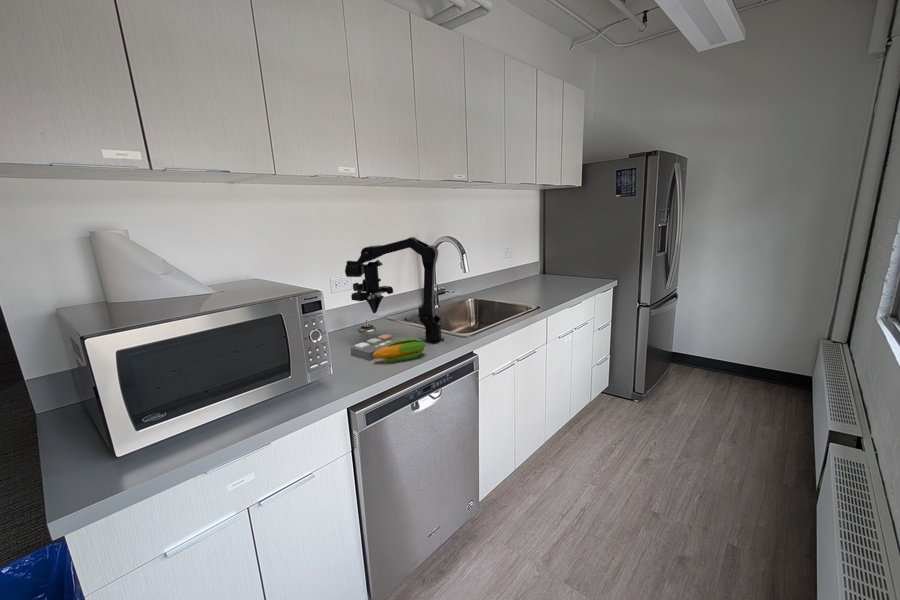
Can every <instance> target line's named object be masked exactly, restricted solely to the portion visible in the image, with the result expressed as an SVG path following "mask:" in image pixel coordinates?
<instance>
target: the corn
mask: <svg viewBox="0 0 900 600" xmlns="http://www.w3.org/2000/svg"><path fill="white" fill-rule="evenodd" d="M399 339H400V340H396V341H392V342H389V343H387V344H390V343H394V344H391V345H388V346H385V347H383V348H381V349H379V350H377V351H375V352H374V353H373V354H372V355H373V356H374V357H375V359H380V360H381V359H383V361H382V362H383V363H397V362H403V361H407V360H413V359H415V358H417V357H419V356H420V355H421V354H422V353H423V352H424V350H425V346H426V345H425V343H424V341H423V340H420V339H418V338H415V337H406V338H399ZM401 341H403V342H401ZM395 342H399V343H395ZM402 360H403V361H402ZM396 361H397V362H396Z"/></svg>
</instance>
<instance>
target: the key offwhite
mask: <svg viewBox="0 0 900 600" xmlns="http://www.w3.org/2000/svg"><path fill="white" fill-rule="evenodd" d="M353 347H355V348H356V349H360V350H363V349H365V348H368V347H370V344H368V343H364V342H360V343H356V344H355V345H354V346H353Z"/></svg>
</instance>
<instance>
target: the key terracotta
mask: <svg viewBox="0 0 900 600" xmlns="http://www.w3.org/2000/svg"><path fill="white" fill-rule="evenodd" d="M392 337H393V335H392V334H391V335H390V334H387V333H384V334H381V335H378V336H377V338H378V339H380V340H382V341H386V340H389V339H392Z"/></svg>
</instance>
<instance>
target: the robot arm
mask: <svg viewBox="0 0 900 600" xmlns="http://www.w3.org/2000/svg"><path fill="white" fill-rule="evenodd" d="M406 249H412V250H413V251H414V252H415V253H417V254H418V255H419V256H420V257H421V262H422V266H423V297H422V298H423V302H422V304H421V305H420V306H419V307H418V316H417V318H419V322H420V323H421V324H422V325H423V326H424V328H425V332H424V333H425V338H424V339H423V340H422V342H425V343H430V344H437V343H440V342H442V341H444V340H445V337H442V325H440V324H441V323H442V318H441V317H440V316H439V315H438V314H437V310H436V306H435V302H434V294H435V293H434V291H435V268H436V264H437V261H438V258H439V257H438V256H439V249H438V248H437V247H436V246H435V245H432V244H431V245H429V244H428V243H425V242H424V241H421V240H420V239H417V238H416V237H415V236H411V237H408V238H405V239H402V240H397V241H394V242H391V243H387V244H380V245H379V244H377V245H369V246H366V247H365V246H364V247H363V248H362V249H361V251H360V256H359V258H358V259H357V260H347V261H346V265H345V269H344V274H345V277H347V278H362V277H363V275H364V279H362V282H361V283H359V282H355V283H352V289H353V291H354V292H353V293H351V301H355V302H356V301H357V302H364V301H366V302H367V304H368V306H369V308H370V309H371V312H372V313H373V314H376V313H377V311H378V309H379V307H380V304H381V301H382V299H383V298H385V296H384V295H382V294H385V293H387V295H391V294H394V288H393V287H392V286H389V285H382V286H380V282H381V281H382V279H381V278H379V267H381V266H383V265H384V264H383V263H382V262H381V261H380V260H379V259H378V258H380V257H383V256H384V255H386V254H387V255H388V254H392V253H394V252H395V253H396V252H398V251H402V250H406ZM376 259H377V260H376ZM373 260H376V261H373Z"/></svg>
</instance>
